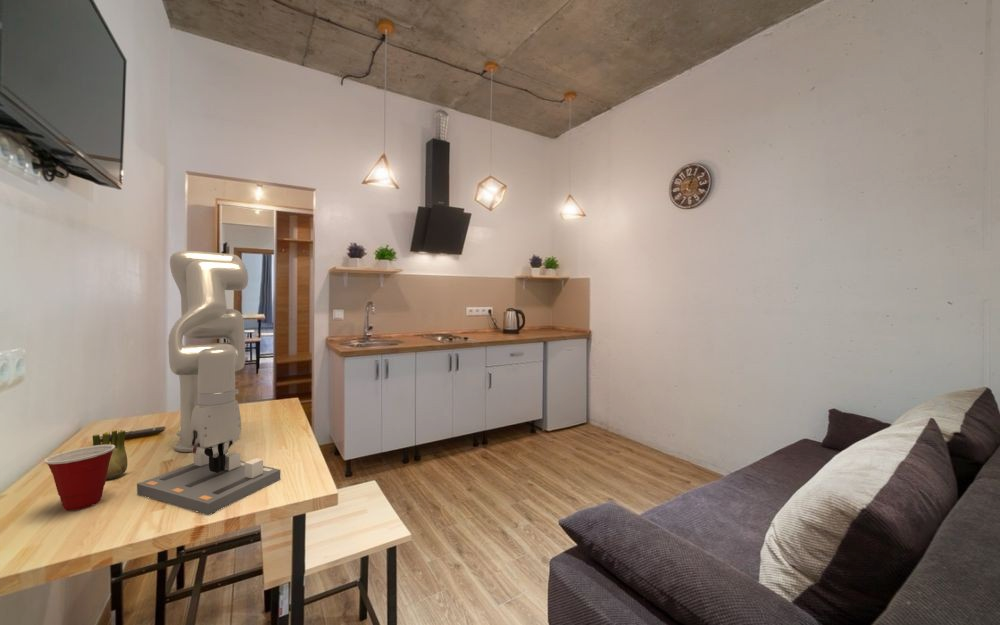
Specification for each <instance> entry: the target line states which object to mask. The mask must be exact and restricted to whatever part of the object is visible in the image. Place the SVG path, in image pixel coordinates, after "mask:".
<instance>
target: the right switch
mask: <svg viewBox="0 0 1000 625" xmlns="http://www.w3.org/2000/svg"><path fill="white" fill-rule="evenodd" d="M244 462H245V477H248V478H254V477H256V476H258V475H260V474H263V466H264V459H263V458H257V457H256V458H252V459H249V460H248V461H244Z"/></svg>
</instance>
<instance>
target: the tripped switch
mask: <svg viewBox="0 0 1000 625" xmlns="http://www.w3.org/2000/svg"><path fill="white" fill-rule="evenodd" d="M241 456H242V455H241V452H240V451H232V452H228V453H227V454H225V470H228V471H230V470H232V469H235V468H237V467H239V466H241V461H242V460H241V459H242V458H241Z"/></svg>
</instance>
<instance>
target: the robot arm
mask: <svg viewBox="0 0 1000 625" xmlns="http://www.w3.org/2000/svg"><path fill="white" fill-rule="evenodd" d="M169 267H170V273H171V275H172V277H173V280H174V282H175V284H176V286H177V289H178V290H179V294H180V309H181V313H180V314H181V316H180V317H179V319H177V320H176V322H175V323H174V324H173V326H172V328H171V329H170V331H169V335H168V341H167V344H168V345H167V346H168V363H169V368H170V371H171V372H172V373H173V374H174V375H175V376H179V377H178V378H179V395H180V396H179V398H180V399H179V401H180V430H179V431H176V433H175V435H176V436H179V441H177V442H176V443H174V444H173V450H174V451H175V452H180V453H190V452H191V453H192V454H193V455H194V454H206V455H207V456H209V469H210V471H212V472H216V473H219V472H221V471H224V470H225V455H226V454H228V453H229V449H230V448H231V446H232V445H234V444H235V443H236V442H238V441H240V436H241V433H242V418H241V410H240V405H239V402H238V399H236V395H239V393H240V390H239V389H238V388H236V372H238V371H240V370H242V369H243V368H244V366H245V364H246V336H245V334H246V332H245V321H244V316H243V314H242V312H240V311H239V310H237V309H233V308H228V307H227V298H226V291H243V290H245V289H246V288H247V286H248V283H249V274H248V270H247V267H246V265H245V263H244V262H243V260H242V259H241V258H240V257H239V255H236V254H232V253H223V252H222V253H221V252H210V251H200V250H198V251H197V250H180V251H176V252H174V253H172V254H171V256H170V258H169ZM184 337H185V338H187V339H190V340H214V339H215V340H216V339H218V340H219V339H220V340H221V339H225V340H226V341H227V342H210V343H193V344H188V345H184V344H183V338H184Z"/></svg>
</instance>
